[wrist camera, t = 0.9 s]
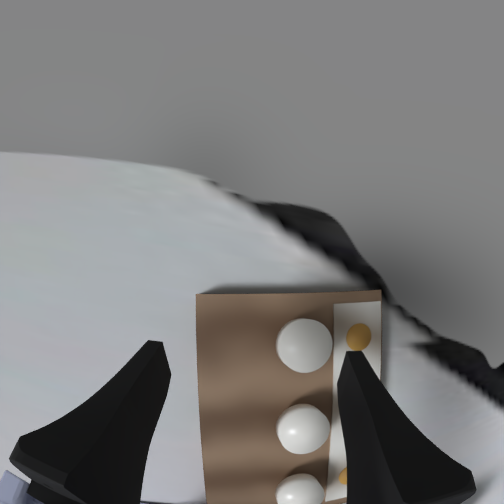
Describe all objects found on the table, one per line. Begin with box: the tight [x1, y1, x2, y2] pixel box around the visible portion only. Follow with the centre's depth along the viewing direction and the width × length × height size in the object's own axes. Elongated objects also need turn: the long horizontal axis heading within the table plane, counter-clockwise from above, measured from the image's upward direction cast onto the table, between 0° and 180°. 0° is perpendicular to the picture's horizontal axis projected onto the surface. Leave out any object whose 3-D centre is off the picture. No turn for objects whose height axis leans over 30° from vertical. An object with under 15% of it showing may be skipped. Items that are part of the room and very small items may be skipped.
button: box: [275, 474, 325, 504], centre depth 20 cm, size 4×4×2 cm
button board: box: [196, 290, 382, 504], centre depth 24 cm, size 22×16×3 cm
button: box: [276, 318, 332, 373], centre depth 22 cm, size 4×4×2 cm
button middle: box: [276, 404, 330, 454], centre depth 21 cm, size 4×4×2 cm
